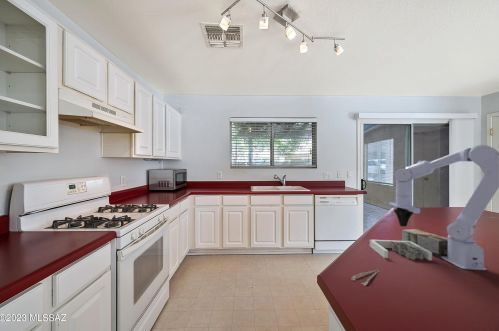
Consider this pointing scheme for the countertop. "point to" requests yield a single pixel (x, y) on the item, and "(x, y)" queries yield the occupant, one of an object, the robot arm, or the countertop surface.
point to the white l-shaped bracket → (382, 244)
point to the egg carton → (408, 250)
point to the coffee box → (427, 241)
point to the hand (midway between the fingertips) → (403, 226)
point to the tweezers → (364, 275)
